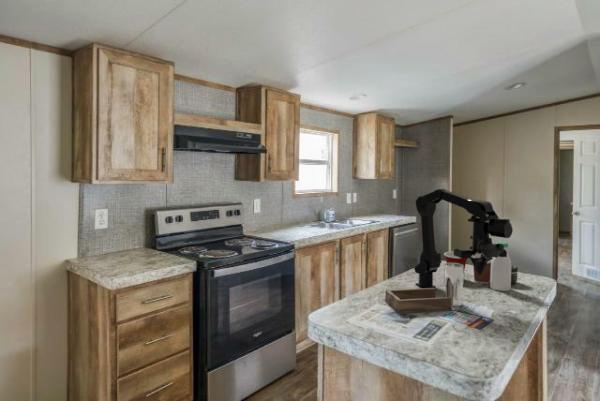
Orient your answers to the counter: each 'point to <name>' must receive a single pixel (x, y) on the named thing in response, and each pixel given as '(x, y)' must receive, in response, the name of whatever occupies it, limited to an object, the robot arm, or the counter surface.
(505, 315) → the counter surface
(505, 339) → the counter surface
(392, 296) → the wooden tray
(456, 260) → the plastic cup
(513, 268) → the jar
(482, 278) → the coffee cup
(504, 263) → the milk bottle
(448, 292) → the beer glass
